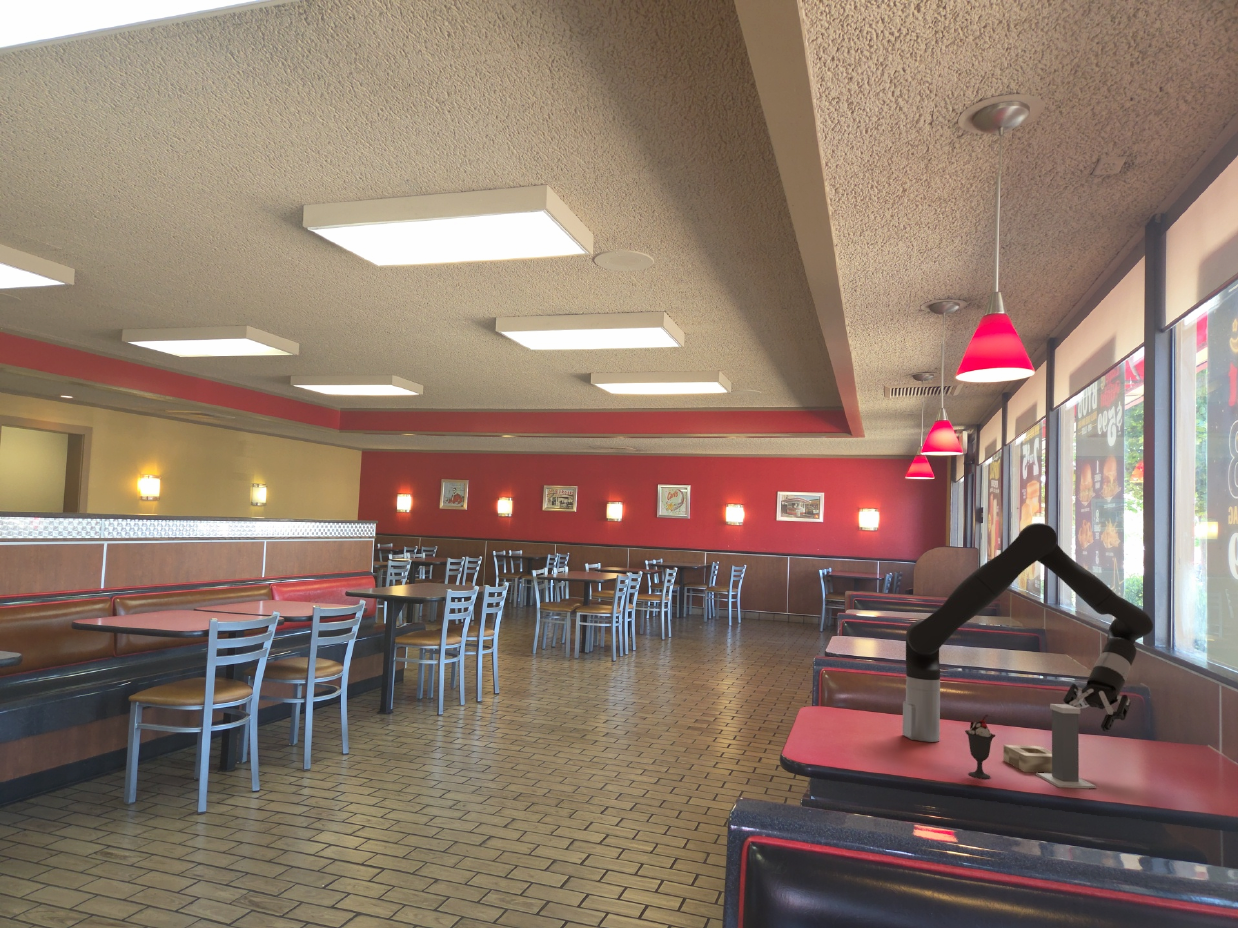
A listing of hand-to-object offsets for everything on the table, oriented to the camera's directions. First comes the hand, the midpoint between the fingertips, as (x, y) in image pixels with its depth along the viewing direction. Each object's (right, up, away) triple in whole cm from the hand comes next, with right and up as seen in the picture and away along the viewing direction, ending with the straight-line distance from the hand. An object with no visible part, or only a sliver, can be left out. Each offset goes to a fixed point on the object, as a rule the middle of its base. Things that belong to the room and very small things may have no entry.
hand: (1086, 724), depth 195 cm
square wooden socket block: (-12, -12, +3) cm, 17 cm away
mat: (-10, -11, -9) cm, 17 cm away
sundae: (-30, -10, -7) cm, 33 cm away
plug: (-10, -10, -8) cm, 17 cm away
